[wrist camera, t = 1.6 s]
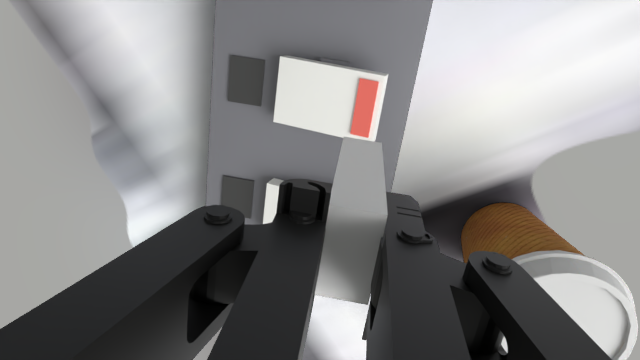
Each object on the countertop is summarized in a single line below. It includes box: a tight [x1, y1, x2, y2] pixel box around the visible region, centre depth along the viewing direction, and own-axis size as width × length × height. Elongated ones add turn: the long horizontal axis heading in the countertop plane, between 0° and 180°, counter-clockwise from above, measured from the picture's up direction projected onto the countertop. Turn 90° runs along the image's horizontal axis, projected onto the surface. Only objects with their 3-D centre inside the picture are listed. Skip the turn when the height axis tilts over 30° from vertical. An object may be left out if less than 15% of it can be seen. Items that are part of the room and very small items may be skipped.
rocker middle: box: [273, 55, 388, 141], centre depth 29 cm, size 4×7×1 cm, turn 82°
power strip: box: [206, 0, 433, 225], centre depth 32 cm, size 28×14×4 cm, turn 172°
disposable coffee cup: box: [461, 203, 638, 360], centre depth 31 cm, size 10×10×12 cm
